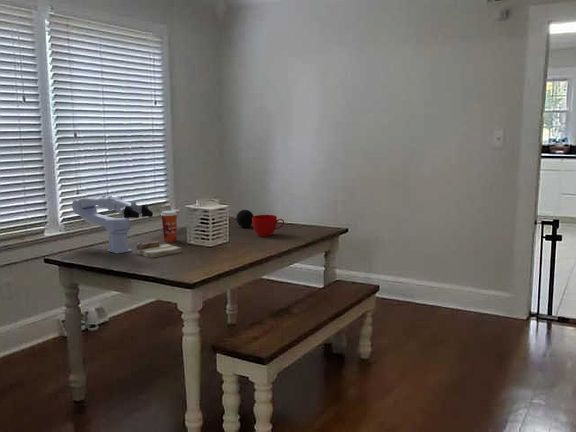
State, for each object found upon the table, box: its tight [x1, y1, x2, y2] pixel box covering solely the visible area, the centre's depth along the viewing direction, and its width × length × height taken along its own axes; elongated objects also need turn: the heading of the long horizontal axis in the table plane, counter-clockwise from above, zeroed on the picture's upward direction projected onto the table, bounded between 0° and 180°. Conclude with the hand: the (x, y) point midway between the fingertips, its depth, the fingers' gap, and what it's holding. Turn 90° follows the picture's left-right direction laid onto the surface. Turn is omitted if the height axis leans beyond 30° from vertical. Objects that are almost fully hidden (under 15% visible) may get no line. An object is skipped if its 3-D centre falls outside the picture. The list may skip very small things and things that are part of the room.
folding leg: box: [135, 240, 161, 249], centre depth 281 cm, size 11×2×3 cm, turn 133°
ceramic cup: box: [252, 214, 285, 237], centre depth 315 cm, size 13×17×10 cm
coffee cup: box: [160, 210, 178, 243], centre depth 305 cm, size 8×8×15 cm
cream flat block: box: [134, 243, 182, 259], centre depth 279 cm, size 14×16×2 cm
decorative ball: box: [235, 209, 254, 228], centre depth 340 cm, size 10×10×10 cm
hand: (145, 215), depth 268 cm, fingers open, 7 cm apart
